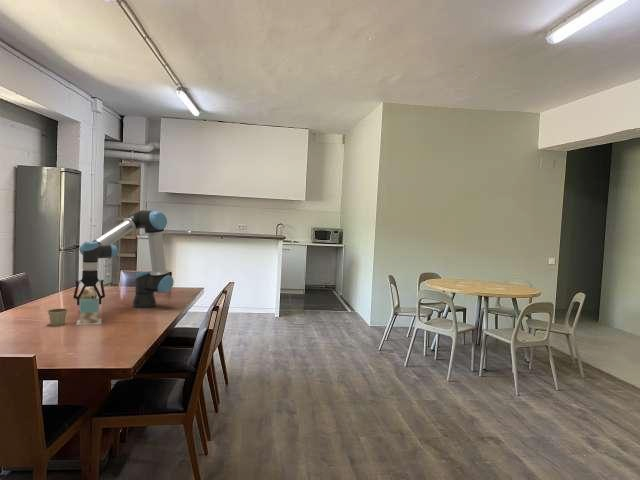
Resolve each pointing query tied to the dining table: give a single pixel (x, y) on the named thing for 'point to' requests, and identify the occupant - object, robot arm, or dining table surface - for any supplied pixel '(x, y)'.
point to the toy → (89, 294)
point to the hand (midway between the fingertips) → (89, 310)
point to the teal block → (89, 305)
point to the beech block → (89, 317)
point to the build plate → (89, 323)
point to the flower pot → (57, 316)
